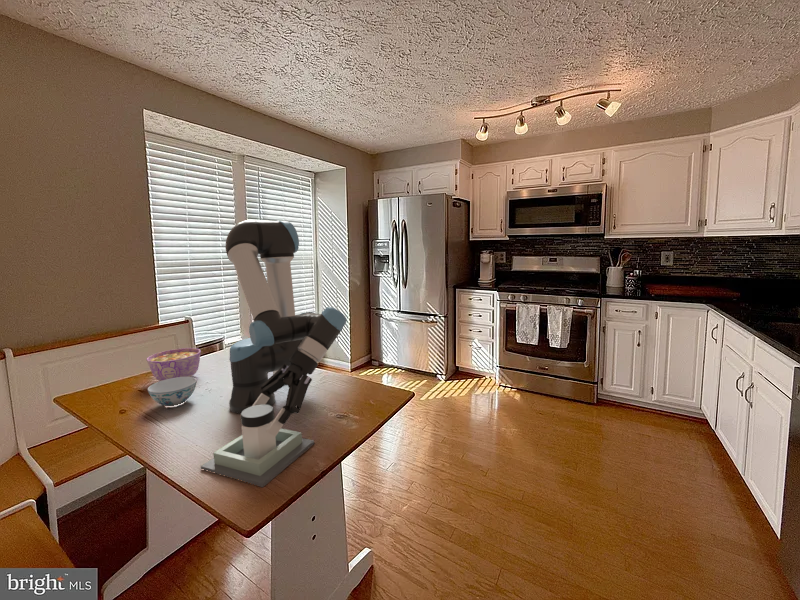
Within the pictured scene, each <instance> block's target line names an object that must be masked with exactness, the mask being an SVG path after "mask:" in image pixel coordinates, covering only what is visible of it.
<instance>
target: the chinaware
mask: <svg viewBox="0 0 800 600" xmlns="http://www.w3.org/2000/svg"><path fill="white" fill-rule="evenodd" d="M196 386H197V378H195V377H193V376H192V377H177V378H171V379H166V380H163V381H158V382H154V383H153V384H151V385H150V386H148V387H147V392H148V394H149V395H150V396H149V397H150V398H151V399H152V400H153V402H156V403H158V404H159V405H162V406H164V405H165V406H174V405H178V404H181V403H183V402H185V401H186V402H187V400H188V399H189V398H190V397H191V396H192V395H193V394H194V392H195V389H196Z"/></svg>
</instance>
